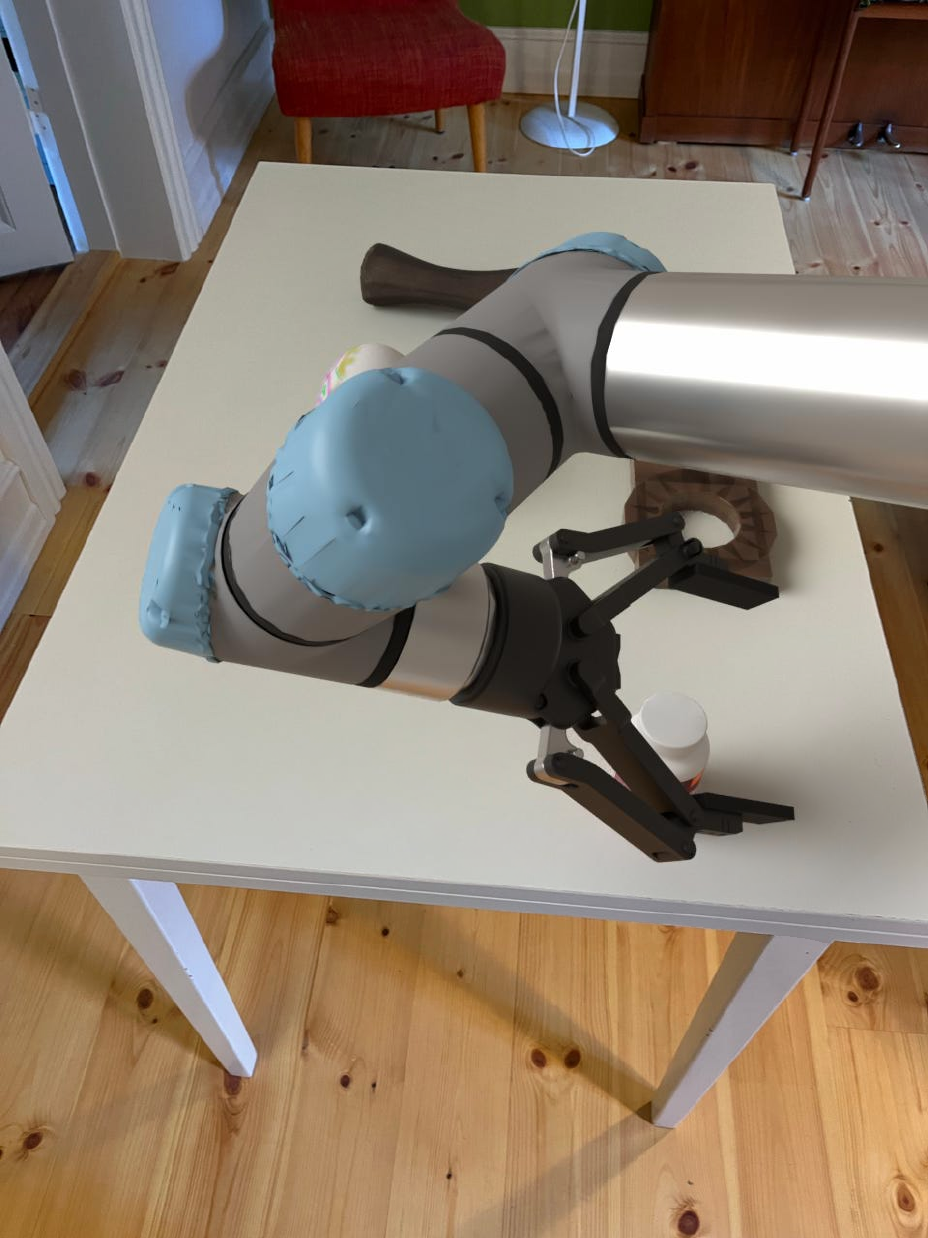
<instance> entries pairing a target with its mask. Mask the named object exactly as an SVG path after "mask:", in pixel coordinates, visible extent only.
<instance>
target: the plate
mask: <svg viewBox="0 0 928 1238" xmlns="http://www.w3.org/2000/svg"><path fill="white" fill-rule="evenodd" d="M629 466H630V468H629V469H630V494H629V496H628V498H627V500H626V501H625V503H624V504H623V505H624V506H623V510H622V516H621V521H620V525H624V524H628V523H632V522H636V521H640V520H644V519H648V518H652V517H656V516H660V515H664V514H668V513H673V512H677V513H679V512H682V511H696V512H697V511H700V512H702V513H705V514H709V515H711V516H715V517H716V518H717V519H719V520H720V521H721V522H723V523H725V524H726V525H727V527H728V529H729V530H730V531H731V533H732V534H733V538H732V539H731V540H729V541H728V542H727V543H725V544H722V545H717V546H713V547H705V546H703V549H704V551H703V552H704V553H707V554H710V555H714V556H717V557H720V558H723V559H724V560H726V561H727V562H728V563H729V571H730V572H733V573H736V574H739V575H743V576H746V577H749V578H753V579H756V580H759V581H762V582H766V583H769V584H772V583H771V582H772V580H773V571H772V565H771V558H770V557H771V553H772V550H773V549H774V545H775V542H776V539H777V537H778V529H777V524H776V518H775V513H774V511H773V510H772V508H771V507H770V506H769V505H768V503H767V502H766V501H765V499H764V498H763V497H762V496H761V493H759V488H758V482H757V481H756V480H751V479H745V478H739V477H733V476H727V475H721V474H715V473H709V472H703V471H697V470H691V469H686V468H680V467H674V466H668V465H662V464H656V463H650V462H644V461H638V460H632V459H629ZM626 553H627V555H628V557H629V558H630V559H631V561H632V563H633V564H634V571H635V570H637V569H638V568H640V567H641V566H642V565H644V564H645V563H647V562H648V561H650V560H651V559H653V558H654V557H655V556H656V553H655V550H654V546H649V547H645V548H641V549H638V550H634V551H630V552H626ZM653 589H663V590H666V589H667V590H672V589H671V588H668V578H667V579H665V580H664V581H663V582H661V583H660V584H658V585H657V586H656V587H654V588H653Z"/></svg>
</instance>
